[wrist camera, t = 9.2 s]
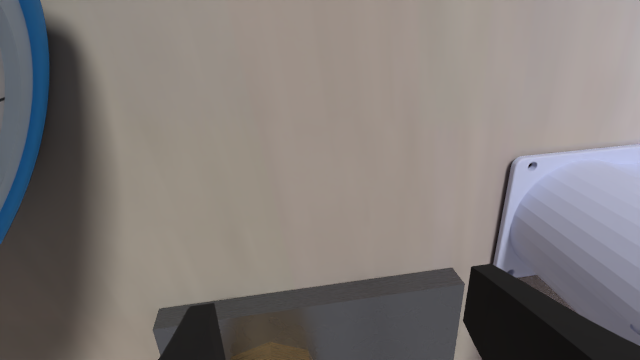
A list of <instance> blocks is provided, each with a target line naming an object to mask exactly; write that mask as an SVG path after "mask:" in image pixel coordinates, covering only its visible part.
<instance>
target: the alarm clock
mask: <svg viewBox="0 0 640 360" xmlns="http://www.w3.org/2000/svg"><path fill="white" fill-rule="evenodd" d="M48 94H49V48H48V37H47V31H46V24H45V19H44V14H43V9H42V5H41V2H40V0H0V244H1V243H2V241H3V239H4V237H5V235H6V233H7V232H8V230H9V228H10V226H11V224H12V222H13V220H14V217H15V215H16V213H17V211H18V209H19V207H20V204H21V202H22V200H23V197H24V195H25V192H26V189H27V187H28V184H29V181H30V178H31V175H32V173H33V170H34V166H35V163H36V159H37V156H38V152H39V148H40V144H41V140H42V135H43V130H44V125H45V119H46V113H47V104H48Z"/></svg>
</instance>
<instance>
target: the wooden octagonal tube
mask: <svg viewBox="0 0 640 360" xmlns="http://www.w3.org/2000/svg"><path fill="white" fill-rule="evenodd" d="M230 360H313V359H312V357H311V355H310V353H309V351H308V350H304V349H300V348H295V347H291V346H287V345H282V344H278V343H274V342H269V343H266V344H263V345H261V346H258V347H256V348H253V349H250V350H248V351H245V352H242V353H240V354H237V355H235V356H232V357H231V358H230Z"/></svg>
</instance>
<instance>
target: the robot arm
mask: <svg viewBox="0 0 640 360" xmlns="http://www.w3.org/2000/svg"><path fill="white" fill-rule="evenodd" d="M530 163H532V165H531V166H530V167H529V168H528V166H529V164H530ZM507 271H508V272H507ZM532 275H538V276H539V277H540V278H541V279H542V280H543V281H544V282H545V283H546V284H547V285H548V286H549V287H550V288H551V289H552V290H553V291H555V292H556V293H557V294H558V295H559V296H560V297H561V298H562V299H563V300H564V301H565V302H566V303H567V304H568V305H569V306H570V307H571V308H572V309H574V310H575V311H576V312H577V313H576V312H574V311H572V310H570V309H569V308H567V307H565V306H563V305H562V304H560V303H558V302H556V301H555V300H553V299H551V298H550V297H548V296H546V295H545V294H543V293H541V292H539V291H538V290H536V289H534V288H533V287H531V286H529V285H528V284H526V283H524V282H523V281H521V280H519V279H517V278H519V277H525V276H532ZM463 322H464V324H465V326H466V328H467V330H468V332H469V334H470V336H471V339H472V341H473V343H474V345H475V346H476V348H477V350H478V352H479V354H480V356H481V358H482V359H483V360H640V144H635V145H625V146H616V147H606V148H596V149H587V150H577V151H567V152H558V153H548V154H538V155H529V156H521V157H518V158H516V159H515V160H514V161H513V162H512V165H511V170H510V175H509V181H508V186H507V192H506V197H505V203H504V208H503V214H502V219H501V225H500V230H499V235H498V241H497V246H496V252H495V257H494V263H493V264H487V265H479V266H472V267H471V272H470V279H469V285H468V292H467V298H466V305H465V311H464V318H463ZM158 360H226V358H225V353H224V348H223V343H222V338H221V333H220V329H219V324H218V319H217V314H216V309H215V304H214V303H209V304H202V305H195V306H190V307H189V308H188V309H187V311H186V313H185V315H184V316H183V318H182V320H181V322H180V324H179V326H178V327H177V329H176V331H175V333H174V334H173V336H172V338H171V339H170V341H169V343H168V345H167V346H166V348H165V350H164V351H163V353H162V354H161V356H160V358H159V359H158Z"/></svg>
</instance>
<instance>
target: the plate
mask: <svg viewBox="0 0 640 360" xmlns="http://www.w3.org/2000/svg"><path fill="white" fill-rule="evenodd" d="M464 285H465V284H464V282H463V281H462V280H461V279H460V277H459V276H458V275H457V273H456V272H455V271H454V269H453V268H447V269H440V270H433V271H426V272H419V273H411V274H404V275H397V276H390V277H383V278H376V279H369V280H361V281H354V282H347V283H340V284H333V285H326V286H319V287H312V288H304V289H297V290H290V291H283V292H276V293H269V294H262V295H254V296H247V297H240V298H233V299H226V300H219V301H212V302H205V303H197V304H190V305H183V306H176V307H169V308H162V309H159V311H158V314H157V318H156V321H155V324H154V327H153V332H154V335H155V339H156V342H157V345H158V349H159V352H160V355H161V354H162V353H163V351H164V350H165V348H166V346H167V345H168V343H169V341H170V339H171V338H172V336H173V334H174V333H175V331H176V329H177V327H178V326H179V324H180V322H181V320H182V318H183V316H184V315H185V313H186V311H187V309H188V308H189V307H190V306H195V305H202V304H209V303H214V304H215V309H216V314H217V319H218V324H219V329H220V333H221V338H222V343H223V348H224V353H225V358H226V360H230V358H231V357H232V356H235V355H237V354H240V353H242V352H245V351H248V350H250V349H253V348H256V347H258V346H261V345H263V344H266V343H269V342H274V343H278V344H282V345H287V346H291V347H295V348H300V349H304V350H308V351H309V353H310V355H311V357H312V359H313V360H453V359H454V352H455V346H456V339H457V332H458V325H459V319H460V312H461V305H462V299H463V292H464Z"/></svg>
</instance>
